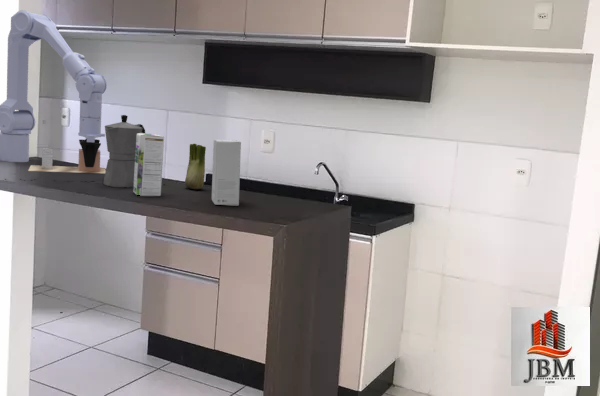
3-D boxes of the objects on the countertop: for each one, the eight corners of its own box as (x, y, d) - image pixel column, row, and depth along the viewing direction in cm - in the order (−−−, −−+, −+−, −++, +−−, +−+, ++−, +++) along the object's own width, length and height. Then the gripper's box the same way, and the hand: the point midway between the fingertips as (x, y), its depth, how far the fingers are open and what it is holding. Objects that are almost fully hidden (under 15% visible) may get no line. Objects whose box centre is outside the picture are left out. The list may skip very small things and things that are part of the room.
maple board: (28, 174, 165) (28, 170, 165) (30, 168, 176) (30, 165, 176) (106, 176, 172) (106, 173, 172) (104, 171, 183) (104, 167, 183)
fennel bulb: (206, 191, 162) (208, 145, 160) (187, 190, 160) (189, 144, 158) (200, 187, 167) (203, 143, 165) (182, 187, 165) (184, 142, 163)
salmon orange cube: (78, 170, 172) (79, 150, 171) (78, 168, 177) (78, 148, 177) (99, 171, 174) (100, 151, 173) (98, 169, 179) (99, 149, 179)
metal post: (41, 168, 170) (42, 148, 169) (42, 167, 173) (42, 148, 172) (52, 169, 171) (52, 149, 170) (52, 168, 174) (52, 148, 173)
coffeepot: (121, 189, 153) (123, 116, 150) (89, 185, 156) (91, 113, 153) (156, 183, 167) (159, 116, 164) (127, 179, 170) (130, 113, 168)
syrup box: (132, 192, 150) (134, 132, 148) (157, 192, 153) (159, 133, 151) (136, 196, 145) (139, 134, 143) (162, 196, 148) (165, 135, 146)
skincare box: (239, 206, 143) (243, 142, 141) (212, 205, 142) (216, 140, 139) (234, 200, 151) (238, 139, 149) (209, 199, 150) (213, 137, 148)
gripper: (106, 119, 168) (105, 169, 170) (104, 117, 182) (102, 163, 184) (79, 118, 166) (78, 168, 168) (78, 115, 179) (77, 162, 181)
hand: (89, 165), depth 176 cm, fingers closed on salmon orange cube, 6 cm apart
